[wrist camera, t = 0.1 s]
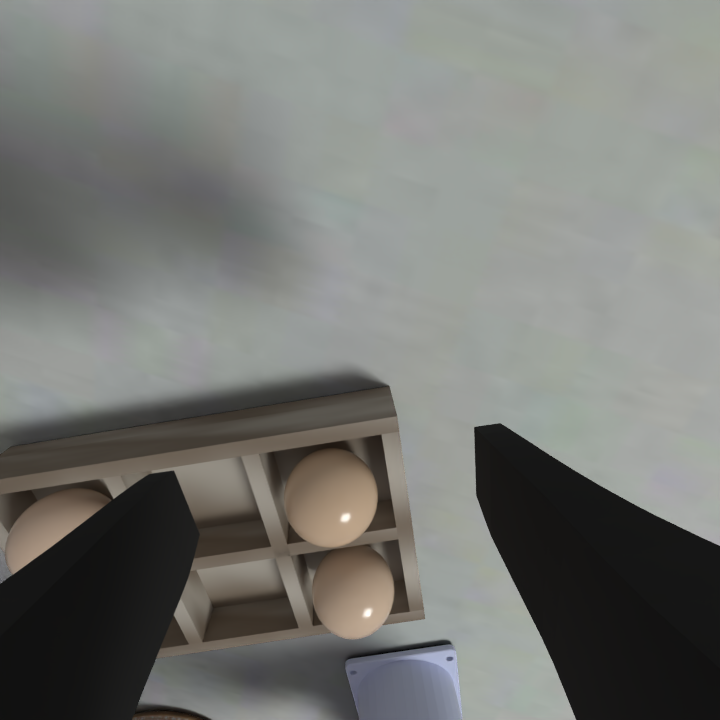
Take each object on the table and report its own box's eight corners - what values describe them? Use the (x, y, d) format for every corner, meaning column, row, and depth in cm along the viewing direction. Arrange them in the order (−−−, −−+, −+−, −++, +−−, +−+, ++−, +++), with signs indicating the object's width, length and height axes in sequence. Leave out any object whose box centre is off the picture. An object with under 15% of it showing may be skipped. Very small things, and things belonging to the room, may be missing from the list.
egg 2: (379, 492, 21) (388, 562, 17) (300, 504, 21) (290, 577, 17) (367, 424, 19) (374, 483, 15) (281, 437, 19) (264, 500, 15)
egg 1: (150, 527, 21) (104, 605, 17) (73, 539, 21) (9, 619, 17) (119, 463, 19) (60, 532, 15) (35, 476, 19) (-46, 548, 15)
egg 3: (393, 574, 23) (404, 652, 19) (322, 584, 23) (318, 665, 19) (384, 519, 22) (393, 593, 17) (307, 531, 22) (299, 607, 18)
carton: (415, 572, 25) (425, 618, 22) (114, 617, 25) (86, 668, 22) (389, 385, 19) (397, 416, 17) (10, 446, 20) (-43, 486, 17)
